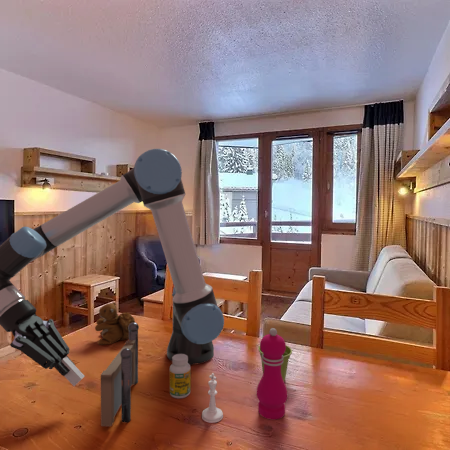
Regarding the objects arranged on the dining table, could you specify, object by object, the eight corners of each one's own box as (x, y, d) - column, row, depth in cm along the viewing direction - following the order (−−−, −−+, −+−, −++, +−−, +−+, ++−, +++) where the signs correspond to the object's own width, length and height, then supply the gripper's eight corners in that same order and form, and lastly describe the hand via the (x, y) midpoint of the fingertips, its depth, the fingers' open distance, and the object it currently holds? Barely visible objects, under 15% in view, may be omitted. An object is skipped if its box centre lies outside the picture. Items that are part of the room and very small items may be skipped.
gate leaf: (127, 381, 90) (127, 340, 90) (135, 381, 90) (135, 340, 90) (100, 426, 72) (100, 374, 71) (111, 426, 72) (111, 374, 71)
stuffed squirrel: (99, 334, 126) (99, 299, 126) (137, 333, 128) (137, 299, 127) (92, 345, 116) (91, 307, 116) (134, 344, 118) (134, 306, 117)
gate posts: (144, 379, 94) (144, 320, 93) (130, 423, 75) (130, 349, 74) (129, 379, 94) (129, 320, 93) (111, 423, 74) (110, 350, 74)
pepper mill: (286, 423, 76) (288, 335, 75) (254, 418, 77) (256, 332, 76) (287, 404, 83) (289, 324, 82) (257, 401, 84) (259, 322, 83)
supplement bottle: (186, 386, 91) (187, 351, 90) (193, 396, 86) (193, 359, 85) (167, 390, 88) (167, 354, 88) (172, 401, 84) (173, 363, 83)
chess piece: (215, 425, 74) (215, 381, 74) (197, 418, 77) (197, 375, 77) (227, 414, 79) (227, 372, 78) (209, 407, 81) (210, 366, 81)
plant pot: (294, 375, 97) (295, 346, 97) (286, 391, 89) (287, 359, 88) (263, 368, 101) (264, 340, 101) (252, 383, 93) (253, 352, 92)
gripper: (20, 311, 88) (83, 377, 87) (-21, 329, 75) (52, 407, 74) (39, 292, 87) (102, 358, 86) (1, 306, 74) (75, 385, 73)
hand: (79, 381), depth 80 cm, fingers closed
